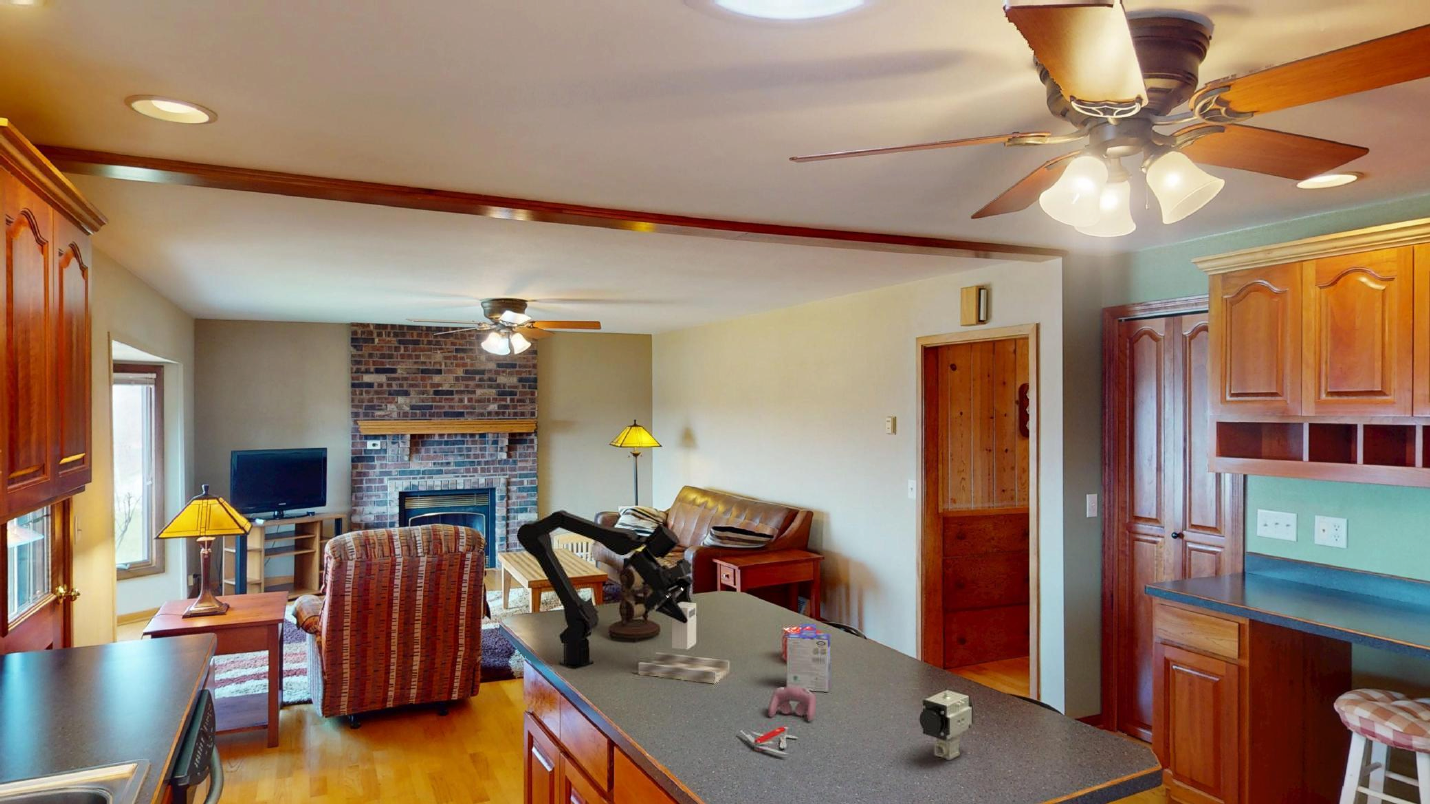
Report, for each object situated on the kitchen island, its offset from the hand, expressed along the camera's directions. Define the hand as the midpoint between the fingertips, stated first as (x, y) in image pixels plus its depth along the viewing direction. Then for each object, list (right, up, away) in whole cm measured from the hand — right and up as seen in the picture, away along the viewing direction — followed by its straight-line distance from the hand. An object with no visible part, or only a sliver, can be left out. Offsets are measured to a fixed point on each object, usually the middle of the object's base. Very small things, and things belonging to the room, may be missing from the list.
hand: (691, 619), depth 205 cm
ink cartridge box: (+28, -14, -10) cm, 32 cm away
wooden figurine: (-17, -14, +35) cm, 41 cm away
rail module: (-2, -7, +1) cm, 7 cm away
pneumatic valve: (+49, -13, -48) cm, 71 cm away
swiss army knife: (+17, -13, -41) cm, 47 cm away
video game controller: (+22, -13, -28) cm, 38 cm away
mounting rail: (-2, -13, +1) cm, 14 cm away
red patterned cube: (+28, -14, +11) cm, 33 cm away
